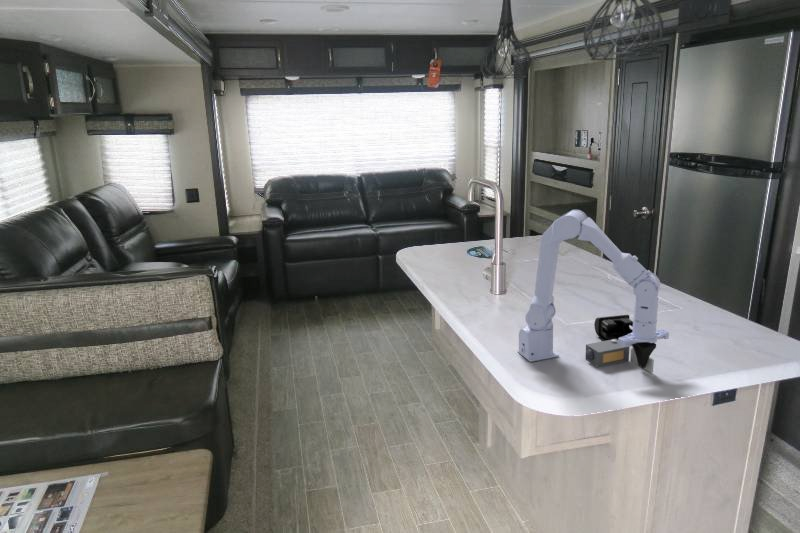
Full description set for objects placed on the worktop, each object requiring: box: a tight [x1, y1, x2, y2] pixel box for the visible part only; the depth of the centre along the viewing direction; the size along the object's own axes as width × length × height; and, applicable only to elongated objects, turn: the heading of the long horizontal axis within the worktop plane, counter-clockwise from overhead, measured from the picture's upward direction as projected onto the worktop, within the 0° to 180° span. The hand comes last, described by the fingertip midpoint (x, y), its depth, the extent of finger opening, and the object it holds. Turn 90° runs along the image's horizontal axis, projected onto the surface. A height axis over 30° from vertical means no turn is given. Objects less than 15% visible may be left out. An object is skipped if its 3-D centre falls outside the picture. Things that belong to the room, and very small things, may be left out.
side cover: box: [629, 346, 655, 374], centre depth 156 cm, size 9×1×4 cm, turn 16°
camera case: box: [585, 339, 631, 368], centre depth 161 cm, size 11×6×5 cm, turn 106°
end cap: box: [593, 314, 633, 341], centre depth 176 cm, size 10×7×7 cm
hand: (641, 366), depth 154 cm, fingers closed
